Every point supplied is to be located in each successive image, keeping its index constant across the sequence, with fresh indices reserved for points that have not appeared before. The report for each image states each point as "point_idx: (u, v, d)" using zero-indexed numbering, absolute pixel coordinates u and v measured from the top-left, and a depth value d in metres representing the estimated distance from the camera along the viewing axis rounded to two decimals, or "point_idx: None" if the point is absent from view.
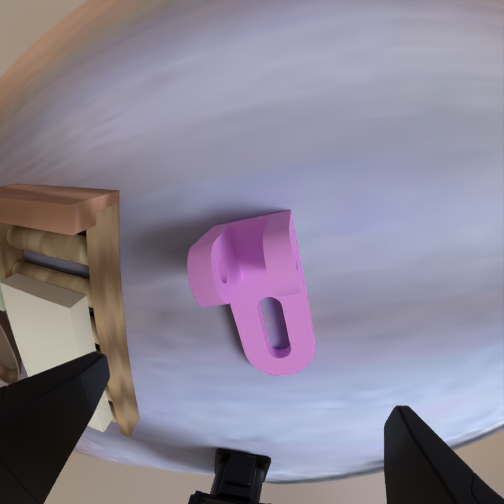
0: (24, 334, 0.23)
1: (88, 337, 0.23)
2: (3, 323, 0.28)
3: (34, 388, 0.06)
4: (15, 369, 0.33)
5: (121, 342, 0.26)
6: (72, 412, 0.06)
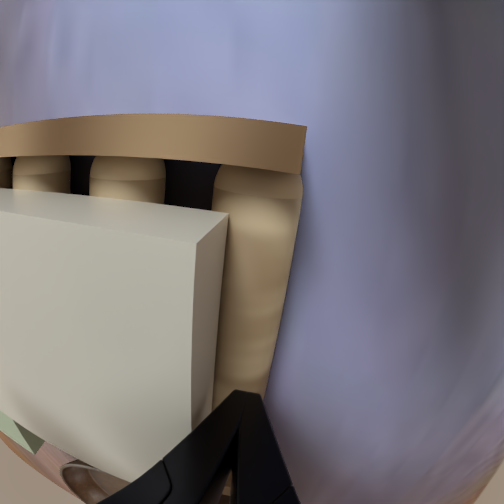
0: None
1: None
2: None
3: (203, 454, 0.05)
4: None
5: None
6: (229, 464, 0.06)
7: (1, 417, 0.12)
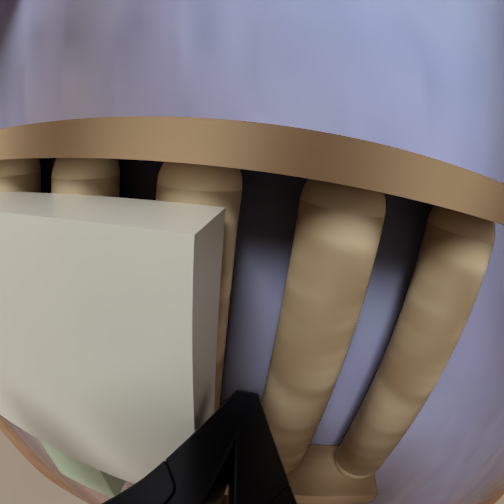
0: None
1: None
2: None
3: (206, 455, 0.05)
4: None
5: None
6: (232, 464, 0.06)
7: (77, 467, 0.11)
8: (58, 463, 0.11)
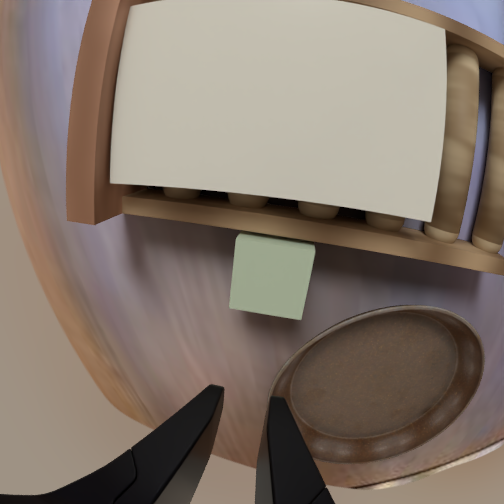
0: (208, 141, 0.13)
1: None
2: (362, 313, 0.18)
3: (170, 445, 0.05)
4: (460, 354, 0.19)
5: None
6: (201, 458, 0.06)
7: (277, 267, 0.16)
8: (239, 282, 0.16)
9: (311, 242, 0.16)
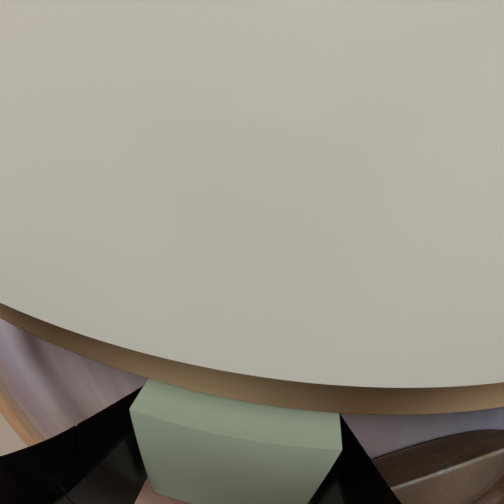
0: None
1: None
2: (405, 469, 0.07)
3: (112, 425, 0.05)
4: None
5: None
6: None
7: (240, 469, 0.05)
8: (160, 472, 0.06)
9: None
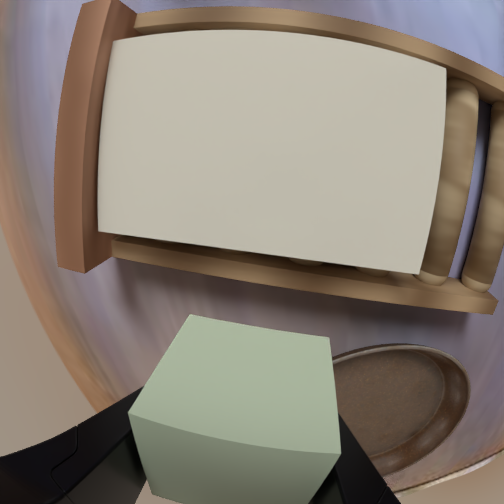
0: (194, 194, 0.13)
1: None
2: (347, 352, 0.18)
3: (113, 426, 0.05)
4: (446, 383, 0.19)
5: None
6: None
7: (239, 472, 0.05)
8: (159, 475, 0.06)
9: (330, 402, 0.06)
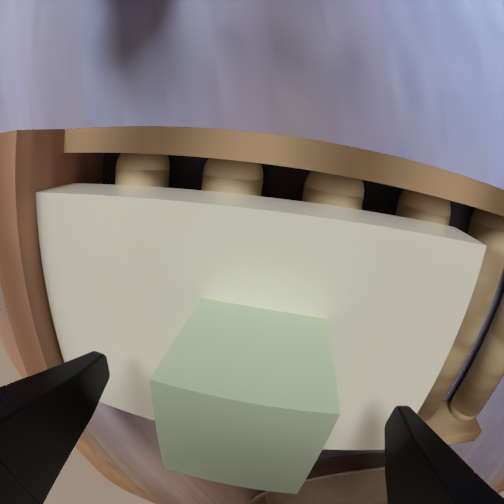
0: None
1: (136, 189, 0.11)
2: (325, 469, 0.16)
3: (34, 388, 0.06)
4: None
5: None
6: (72, 412, 0.06)
7: (248, 436, 0.06)
8: (172, 445, 0.07)
9: (329, 371, 0.07)
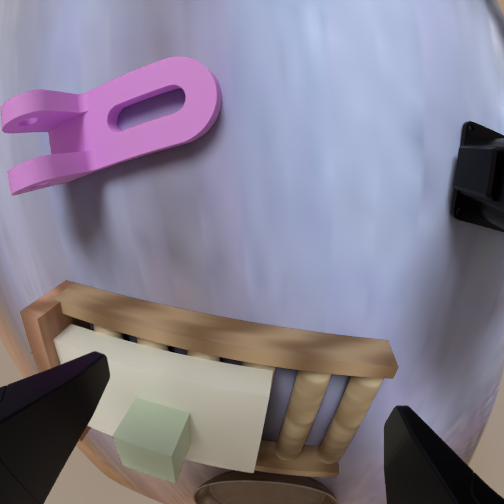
0: None
1: (103, 341, 0.20)
2: (235, 476, 0.25)
3: (34, 388, 0.06)
4: None
5: (215, 323, 0.20)
6: (72, 412, 0.06)
7: (146, 457, 0.15)
8: (124, 456, 0.16)
9: (176, 439, 0.16)
